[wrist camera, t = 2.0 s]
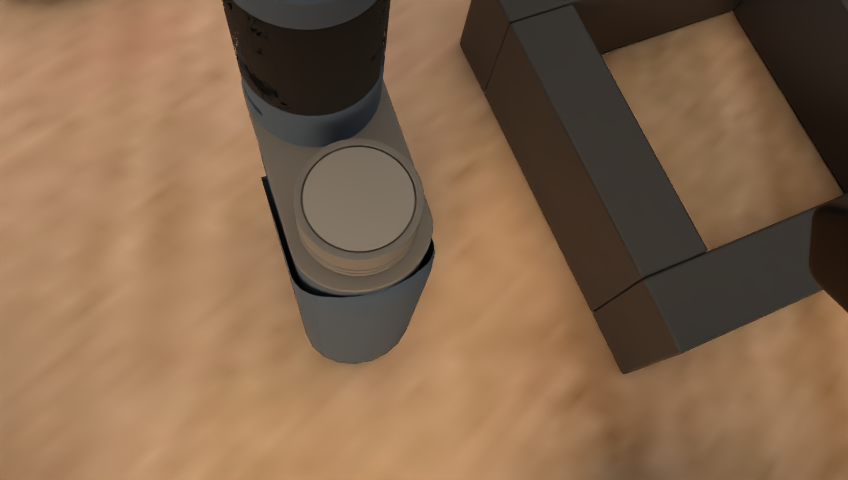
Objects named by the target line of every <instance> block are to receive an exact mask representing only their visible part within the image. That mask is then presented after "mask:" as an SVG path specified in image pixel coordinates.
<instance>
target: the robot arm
mask: <svg viewBox="0 0 848 480" xmlns="http://www.w3.org/2000/svg"><path fill="white" fill-rule="evenodd" d="M809 269H810V272H811V274H812V276H813V278H814V279H815V281H816V282H817V283H818V284H819V285H820V286H821V287H822V288H823V289H824V290H825V291H826V292H827V293H828V294H829V295H830V296H831V297H832V298H833V299H834V300H835V301H836V302H837V303H838V304H839V305H840V306H841V307H842V308H843V309H844V310H846V311H847V312H848V195H843V196H840V197H838V198H835V199H833V200H831V201H828V202H826V203H824V204H821V205H820V206H819V207H817V208H816V210H815V211H814V213H813V215H812V222H811V235H810V248H809Z"/></svg>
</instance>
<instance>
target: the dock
mask: <svg viewBox="0 0 848 480" xmlns="http://www.w3.org/2000/svg"><path fill="white" fill-rule="evenodd" d="M733 9H734V13H735V14H736V16H737V18H738V19H739V21H740V23H741V24H742V26H743V27H744V29H745V31H746V32H747V34H748V36H749V37H750V39H751V40H752V42H753V44H754V45H755V47H756V49H757V50H758V52H759V53H760V55H761V57H762V58H763V60H764V62H765V63H766V65H767V66H768V68H769V70H770V71H771V73H772V75H773V76H774V78H775V79H776V81H777V83H778V84H779V86H780V88H781V89H782V91H783V92H784V94H785V96H786V97H787V99H788V101H789V102H790V104H791V105H792V107H793V109H794V110H795V112H796V114H797V115H798V117H799V119H800V120H801V122H802V123H803V125H804V127H805V128H806V130H807V132H808V133H809V135H810V136H811V138H812V140H813V141H814V143H815V145H816V146H817V148H818V149H819V151H820V153H821V154H822V156H823V158H824V159H825V161H826V162H827V164H828V166H829V167H830V169H831V171H832V172H833V174H834V175H835V177H836V179H837V180H838V182H839V184H840V185H841V187H842V188H843V190H844V192H845V193H846V194H845V195H848V0H471V4H470V7H469V11H468V15H467V19H466V22H465V26H464V30H463V33H462V37H461V41H460V44H461V46H462V48H463V51H464V53H465V55H466V57H467V59H468V61H469V63H470V65H471V67H472V69H473V71H474V73H475V75H476V77H477V79H478V81H479V83H480V85H481V87H482V89H483V91H484V92H485V96H486V98H487V100H488V102H489V104H490V106H491V108H492V110H493V112H494V114H495V116H496V118H497V120H498V122H499V124H500V126H501V128H502V130H503V132H504V134H505V136H506V138H507V140H508V142H509V144H510V146H511V148H512V150H513V153H514V155H515V157H516V159H517V161H518V163H519V165H520V167H521V169H522V171H523V173H524V175H525V177H526V179H527V181H528V183H529V185H530V187H531V189H532V191H533V193H534V195H535V197H536V199H537V201H538V203H539V205H540V207H541V209H542V211H543V214H544V216H545V218H546V220H547V222H548V224H549V226H550V228H551V230H552V232H553V234H554V236H555V238H556V240H557V242H558V244H559V246H560V248H561V250H562V252H563V254H564V256H565V258H566V260H567V262H568V264H569V266H570V268H571V270H572V272H573V275H574V277H575V279H576V281H577V283H578V285H579V287H580V289H581V291H582V293H583V295H584V297H585V299H586V301H587V303H588V305H589V307H590V309H591V310H592V311H594V312H593V315H594V317H595V319H596V321H597V323H598V325H599V327H600V329H601V331H602V333H603V335H604V337H605V339H606V341H607V343H608V345H609V347H610V350H611V352H612V354H613V356H614V358H615V360H616V362H617V364H618V366H619V368H620V370H621V372H622V373H623V374H627V373H629V372H632V371H635V370H637V369H640V368H643V367H646V366H648V365H651V364H654V363H656V362H659V361H662V360H665V359H667V358H670V357H673V356H675V355H678V354H681V353H683V352H686V351H688V350H690V349H692V348H695V347H697V346H699V345H701V344H703V343H706V342H708V341H710V340H712V339H715V338H717V337H719V336H721V335H723V334H726V333H728V332H730V331H732V330H735V329H737V328H739V327H741V326H743V325H746V324H748V323H750V322H752V321H755V320H757V319H759V318H761V317H764V316H766V315H768V314H770V313H772V312H775V311H777V310H779V309H781V308H784V307H786V306H788V305H790V304H792V303H795V302H797V301H799V300H801V299H804V298H806V297H808V296H810V295H812V294H815V293H817V292H819V291H821V290H824V289H823V288H822V287H821V286H820V285H819V284H818V283H817V282H816V281H815V279H814V278H813V276H812V274H811V272H810V269H809V248H810V235H811V222H812V215H813V213H814V211H815V210H816V208H817V207H819V206H820V205H818V206H816V207H813V208H811V209H809V210H806V211H804V212H801V213H799V214H797V215H794V216H792V217H789V218H787V219H785V220H782V221H780V222H778V223H775V224H773V225H770V226H768V227H766V228H763V229H761V230H758V231H756V232H754V233H751V234H749V235H746V236H744V237H742V238H739V239H737V240H734V241H732V242H730V243H727V244H725V245H722V246H720V247H718V248H715V249H713V250H710V251H708V252H706V251H707V248H706V246H705V244H704V242H703V241H702V239H701V237H700V235H699V233H698V232H697V230H696V228H695V226H694V224H693V222H692V221H691V219H690V217H689V215H688V213H687V211H686V210H685V208H684V206H683V204H682V202H681V201H680V199H679V197H678V195H677V193H676V191H675V190H674V188H673V186H672V184H671V182H670V180H669V179H668V177H667V175H666V173H665V171H664V170H663V168H662V166H661V164H660V162H659V160H658V159H657V157H656V155H655V153H654V151H653V149H652V148H651V146H650V144H649V142H648V140H647V138H646V137H645V135H644V133H643V131H642V129H641V128H640V126H639V124H638V122H637V120H636V118H635V117H634V115H633V113H632V111H631V109H630V107H629V106H628V104H627V102H626V100H625V98H624V97H623V95H622V93H621V91H620V89H619V87H618V86H617V84H616V82H615V80H614V78H613V76H612V75H611V73H610V71H609V69H608V67H607V66H606V64H605V62H604V60H603V58H602V56H601V55H600V54H601V53H604V52H607V51H610V50H613V49H616V48H619V47H622V46H625V45H628V44H631V43H634V42H637V41H640V40H643V39H646V38H649V37H652V36H655V35H658V34H661V33H664V32H667V31H670V30H673V29H676V28H679V27H682V26H685V25H688V24H691V23H694V22H697V21H700V20H703V19H706V18H709V17H712V16H715V15H718V14H721V13H724V12H727V11H730V10H733ZM842 196H843V195H842ZM837 198H838V197H837ZM830 201H831V200H830ZM825 203H826V202H825ZM823 204H824V203H823ZM705 252H706V253H705Z"/></svg>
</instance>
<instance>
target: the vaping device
mask: <svg viewBox="0 0 848 480" xmlns="http://www.w3.org/2000/svg"><path fill="white" fill-rule="evenodd" d="M223 3H224V4H223V6H224V7H225V9H226V11H225V9H224V11H225V14H226V19H227V22H228V26H229V30H230V34H231V38H232V42H233V46H234V47H235V48H236V51H237V54H236V55H237V61H238V65H239V69H240V73H241V77H242V82H241V83H242V89H243V94H244V97H245V100H246V104H247V107H248V111H249V114H250V117H251V121H252V124H253V127H254V131H255V134H256V138H257V141H258V145H259V149H260V153H261V157H262V161H263V165H264V168H265V172H266V176H265V177H261V178H262V182H263V185H264V189H265V192H266V196H267V199H268V203H269V206H270V210H271V213H272V216H273V220H274V223H275V227H276V230H277V234H278V237H279V241H280V244H281V248H282V251H283V255H284V258H285V262H286V265H287V268H288V272H289V275H290V279H291V282H292V286H293V289H294V293H295V296H296V300H297V303H298V307H299V310H300V314H301V317H302V321H303V324H304V327H305V331H306V334H307V336H308V338H309V340H310V342H311V344H312V346H313V347H314V348H315V349H316V350H317V351H318V352H319V353H321V354H322V355H323V356H324V357H327V358H329V359H331V360H334V361H336V362H341V363H352V364H356V363H361V362H367V361H371V360H373V359H376V358H378V357H380V356H382V355H384V354H386V353H387V352H388V351H389V350H391V349H392V348H393V347H394V346H395V345H396V344H397V343H398V342H399V341H400V339H401V337H402V336H403V334H404V333H405V331H406V329H407V326H408V324H409V322H410V319H411V317H412V314H413V312H414V310H415V307H416V305H417V303H418V300H419V298H420V295H421V293H422V291H423V288H424V286H425V283H426V281H427V279H428V276H429V274H430V271H431V267H432V263H433V258H434V254H435V250H434V243H433V241H432V232H433V222H432V217H431V213H430V209H429V206H428V204H427V201H426V198H425V195H424V191H423V187H422V183H421V180H420V178H419V176H418V173H417V171H416V170H415V167H414V164H413V162H412V159H411V156H410V153H409V150H408V148H407V145H406V142H405V139H404V136H403V134H402V131H401V128H400V125H399V122H398V120H397V117H396V114H395V111H394V109H393V106H392V103H391V100H390V97H389V95H388V92H387V89H386V86H385V83H384V81H383V71H384V60H385V54H384V51H385V50H386V40H387V29H388V19H389V9H390V0H223ZM382 8H383V9H382ZM383 10H384V11H383ZM381 20H382V21H381ZM379 24H380V25H379ZM234 25H235V26H234ZM384 30H385V32H384ZM235 33H236V34H235ZM238 33H239V34H238ZM384 33H385V35H384ZM233 37H234V38H235V39H234V38H233ZM236 38H237V40H236ZM383 38H384V39H383ZM235 40H236V41H235ZM235 43H236V44H238V45H235ZM383 43H384V44H383ZM236 46H237V47H236ZM235 48H234V50H235ZM384 49H385V50H384Z"/></svg>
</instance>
